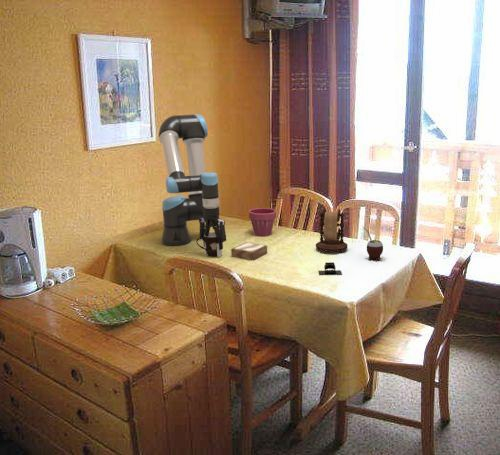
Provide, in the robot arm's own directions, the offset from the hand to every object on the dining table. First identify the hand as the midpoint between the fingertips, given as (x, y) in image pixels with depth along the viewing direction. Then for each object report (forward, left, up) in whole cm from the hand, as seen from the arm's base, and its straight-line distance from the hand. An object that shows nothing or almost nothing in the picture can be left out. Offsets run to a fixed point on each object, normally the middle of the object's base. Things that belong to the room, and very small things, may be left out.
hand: (213, 254), depth 237 cm
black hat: (+57, +4, -1) cm, 58 cm away
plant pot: (+1, +42, 0) cm, 42 cm away
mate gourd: (+67, +29, 0) cm, 73 cm away
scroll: (+45, +33, 0) cm, 56 cm away
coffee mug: (-1, 0, 0) cm, 1 cm away
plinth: (+15, +8, 0) cm, 17 cm away
